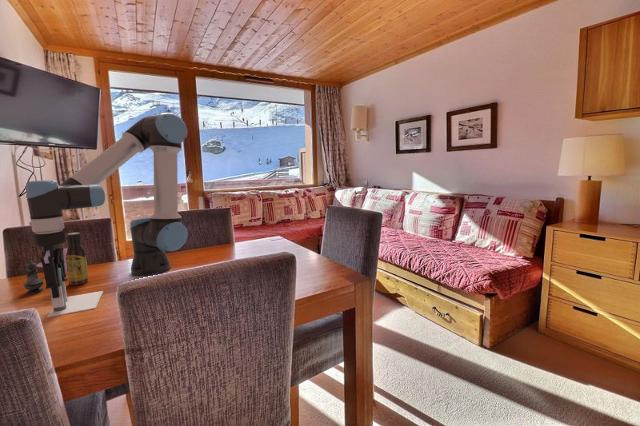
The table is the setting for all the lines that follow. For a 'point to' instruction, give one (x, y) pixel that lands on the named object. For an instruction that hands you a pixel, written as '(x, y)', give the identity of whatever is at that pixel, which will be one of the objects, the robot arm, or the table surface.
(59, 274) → the marker
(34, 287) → the dark grey chess piece
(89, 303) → the paper
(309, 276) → the table surface
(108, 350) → the table surface
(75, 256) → the sauce bottle
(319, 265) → the table surface
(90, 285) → the table surface
